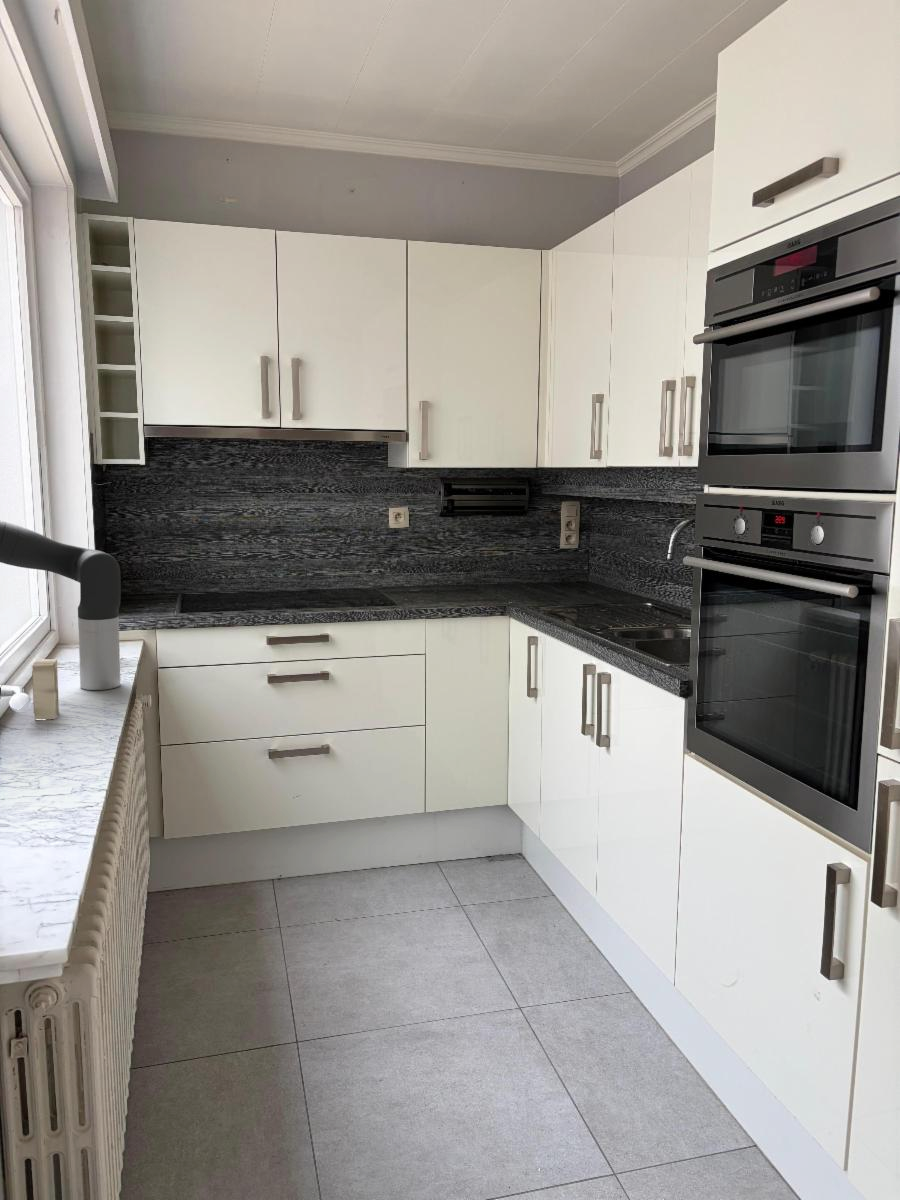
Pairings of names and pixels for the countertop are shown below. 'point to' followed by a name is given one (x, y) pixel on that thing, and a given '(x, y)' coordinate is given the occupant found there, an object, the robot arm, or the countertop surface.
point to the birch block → (45, 689)
